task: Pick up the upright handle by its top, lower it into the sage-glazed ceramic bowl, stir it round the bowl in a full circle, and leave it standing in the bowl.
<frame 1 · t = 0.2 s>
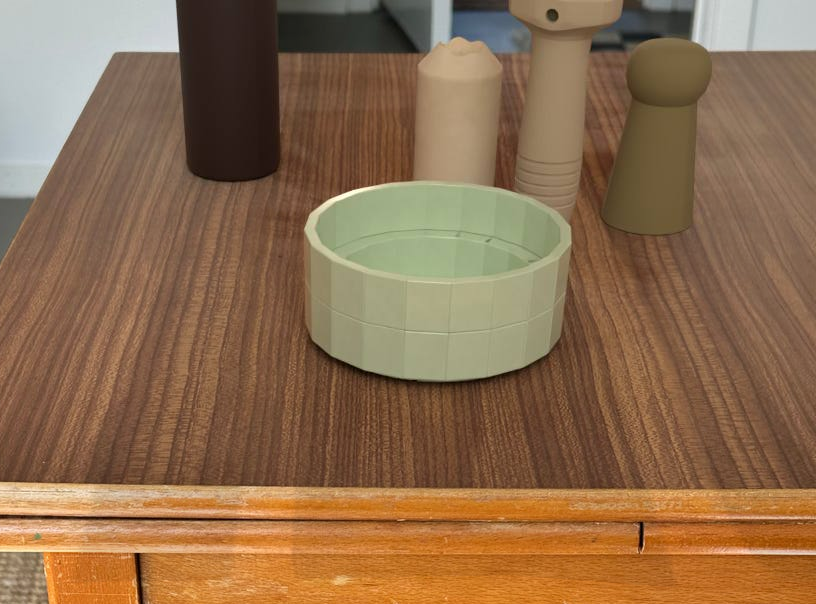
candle: (452, 200, 91), on the table
bottle: (234, 169, 95), on the table
olive brown knobbed cone: (645, 220, 88), on the table
bowl: (432, 331, 74), on the table
handle: (539, 250, 84), on the table
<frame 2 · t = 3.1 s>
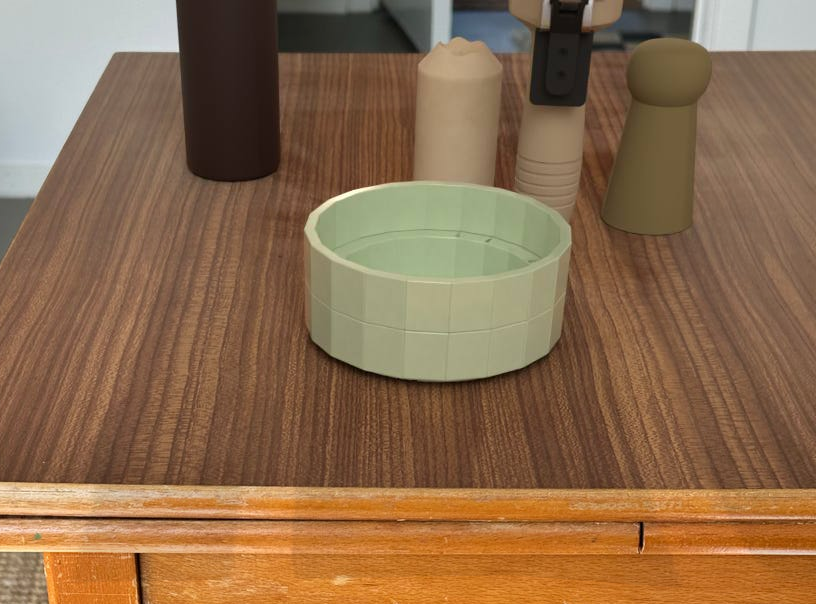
hand: (556, 85, 78), 10 cm above the table, tool pointing down, fingers closed on handle, 5 cm apart
handle: (539, 250, 84), on the table, touching gripper
everything else where it was.
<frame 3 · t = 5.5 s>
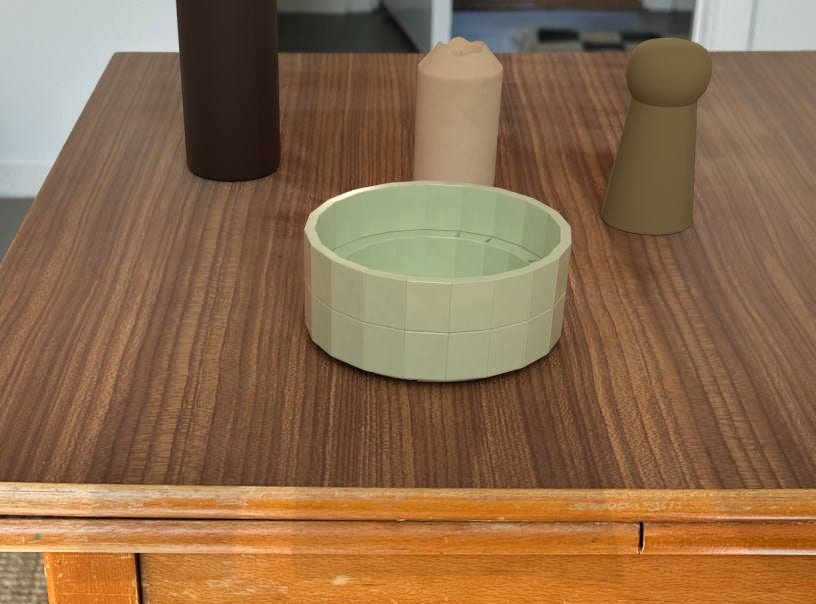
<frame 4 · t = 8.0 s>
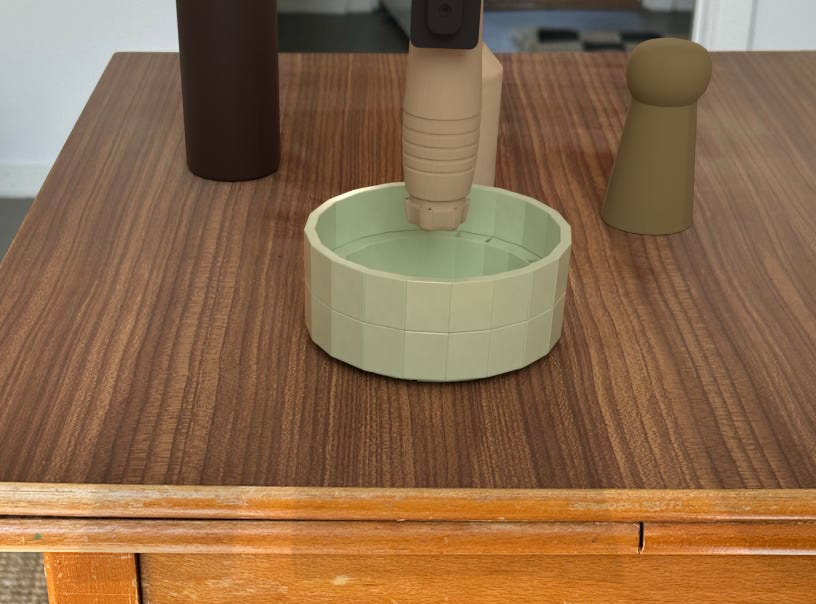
hand: (447, 26, 64), 16 cm above the table, tool pointing down, fingers closed on handle, 5 cm apart
handle: (435, 226, 71), point 6 cm above the table, touching gripper
everything else where it was.
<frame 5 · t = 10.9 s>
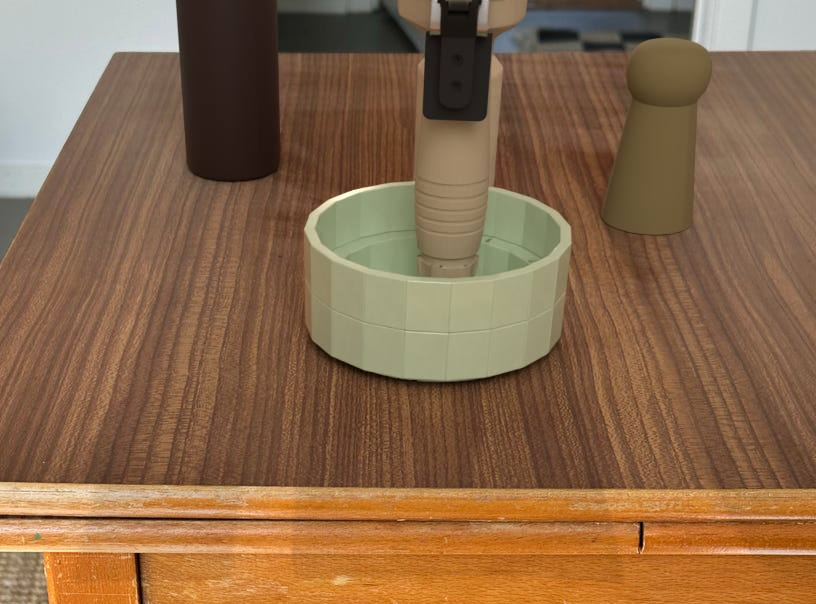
hand: (457, 96, 68), 12 cm above the table, tool pointing down, fingers closed on handle, 5 cm apart
handle: (446, 281, 74), point 2 cm above the table, touching gripper
everything else where it was.
when the fingers open (10 cm above the table, at t = 13.3 s): handle stays where it is, resting on bowl.
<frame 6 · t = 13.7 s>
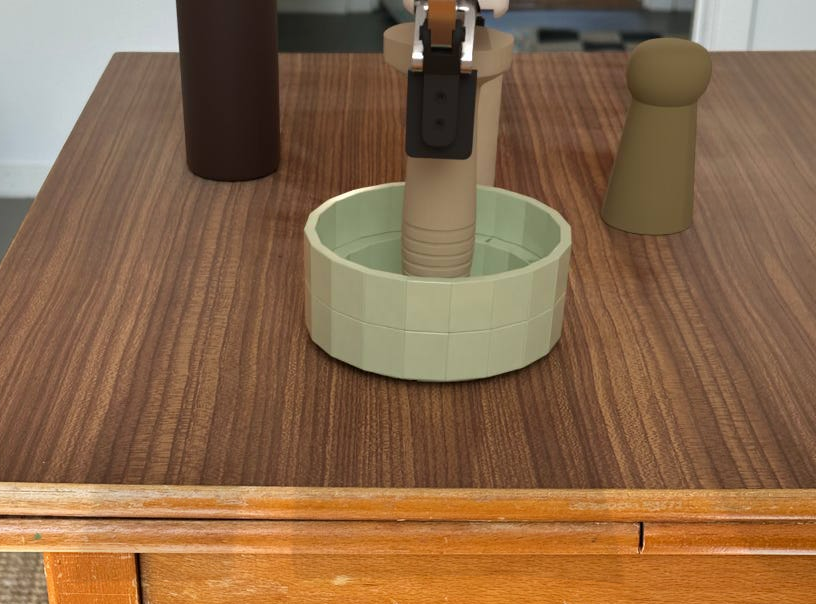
hand: (444, 124, 67), 11 cm above the table, tool pointing down, fingers open, 9 cm apart
handle: (433, 324, 74), resting on bowl
everything else where it was.
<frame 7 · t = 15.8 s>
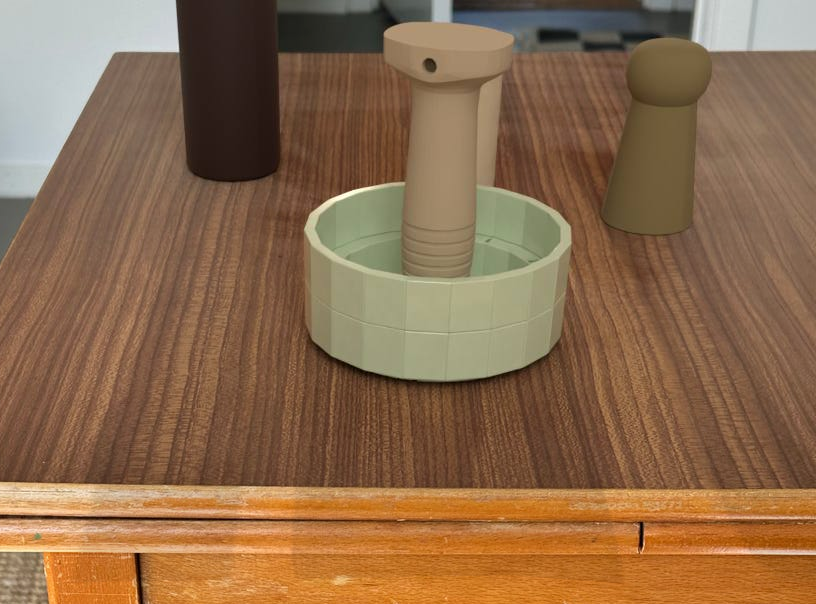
nothing on the table moved.
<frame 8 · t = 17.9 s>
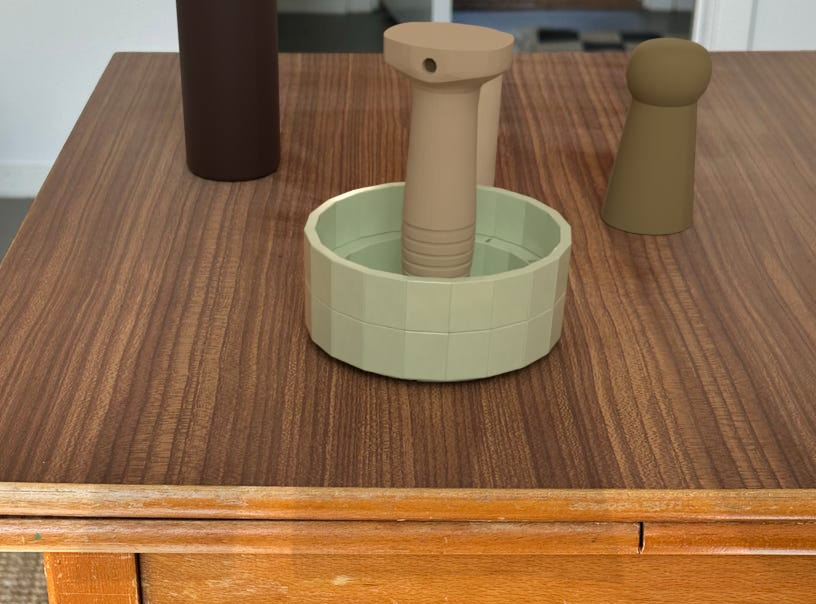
nothing on the table moved.
at the end: handle inside the target area in the bowl (0.0 cm from its centre), point 0.4 cm above the bowl's base; the gripper is holding nothing; handle moved 14.3 cm from its start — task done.
